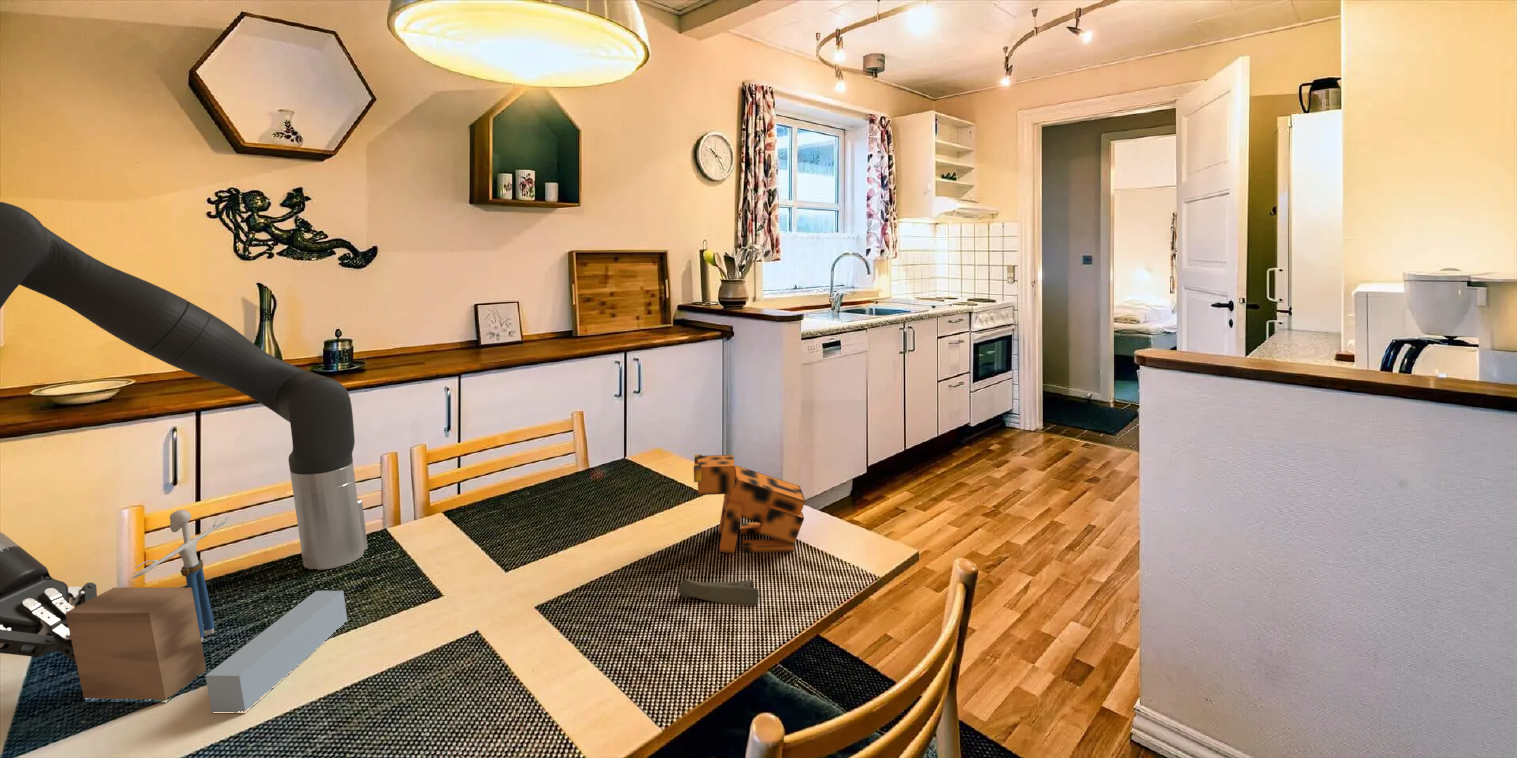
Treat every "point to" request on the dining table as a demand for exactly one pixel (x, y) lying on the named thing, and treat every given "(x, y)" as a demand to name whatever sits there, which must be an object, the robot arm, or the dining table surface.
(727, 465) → the toy animal
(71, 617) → the walnut block
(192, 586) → the alien figure
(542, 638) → the dining table surface
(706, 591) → the grey long curved piece
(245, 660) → the blue-gray rectangular bar
